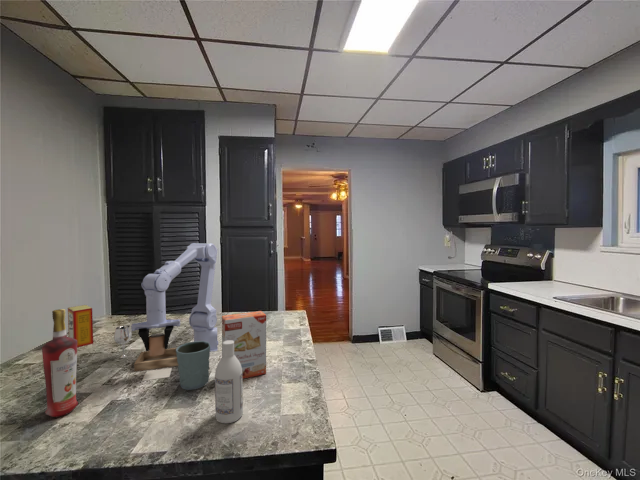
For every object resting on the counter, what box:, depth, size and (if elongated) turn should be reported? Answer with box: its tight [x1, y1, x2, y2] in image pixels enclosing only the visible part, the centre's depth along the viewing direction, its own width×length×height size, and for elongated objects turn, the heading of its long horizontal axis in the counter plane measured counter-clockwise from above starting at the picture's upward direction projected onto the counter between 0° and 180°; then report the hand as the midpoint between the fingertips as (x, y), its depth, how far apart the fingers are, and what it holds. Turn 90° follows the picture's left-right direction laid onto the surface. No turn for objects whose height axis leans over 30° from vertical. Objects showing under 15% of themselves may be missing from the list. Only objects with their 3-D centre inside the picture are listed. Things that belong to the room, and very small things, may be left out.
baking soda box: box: [67, 304, 94, 348], centre depth 134 cm, size 10×6×16 cm
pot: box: [149, 332, 166, 356], centre depth 104 cm, size 5×5×6 cm
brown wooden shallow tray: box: [133, 347, 179, 373], centre depth 114 cm, size 15×11×3 cm
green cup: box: [176, 340, 211, 391], centre depth 99 cm, size 10×10×12 cm
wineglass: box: [113, 325, 133, 359], centre depth 118 cm, size 6×6×12 cm
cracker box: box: [221, 310, 267, 380], centre depth 104 cm, size 14×6×21 cm, turn 117°
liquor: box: [41, 308, 79, 418], centre depth 83 cm, size 7×7×28 cm
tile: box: [141, 367, 173, 382], centre depth 104 cm, size 8×7×1 cm
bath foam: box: [214, 340, 244, 424], centre depth 81 cm, size 7×7×20 cm
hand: (157, 349), depth 104 cm, fingers closed on pot, 5 cm apart
